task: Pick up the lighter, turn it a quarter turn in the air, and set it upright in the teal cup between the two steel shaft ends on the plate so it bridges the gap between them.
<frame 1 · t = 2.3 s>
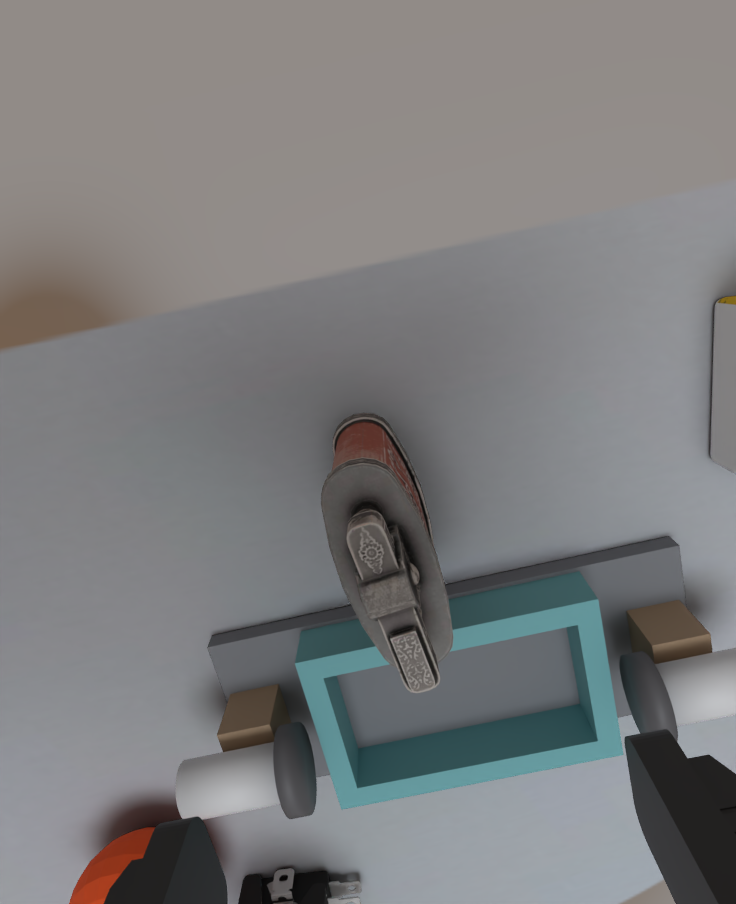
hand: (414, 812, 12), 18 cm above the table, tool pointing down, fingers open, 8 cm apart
lighter: (384, 494, 29), on the table
shaft cradle: (452, 662, 31), on the table
clementine: (156, 843, 35), on the table
push button: (302, 882, 35), on the table
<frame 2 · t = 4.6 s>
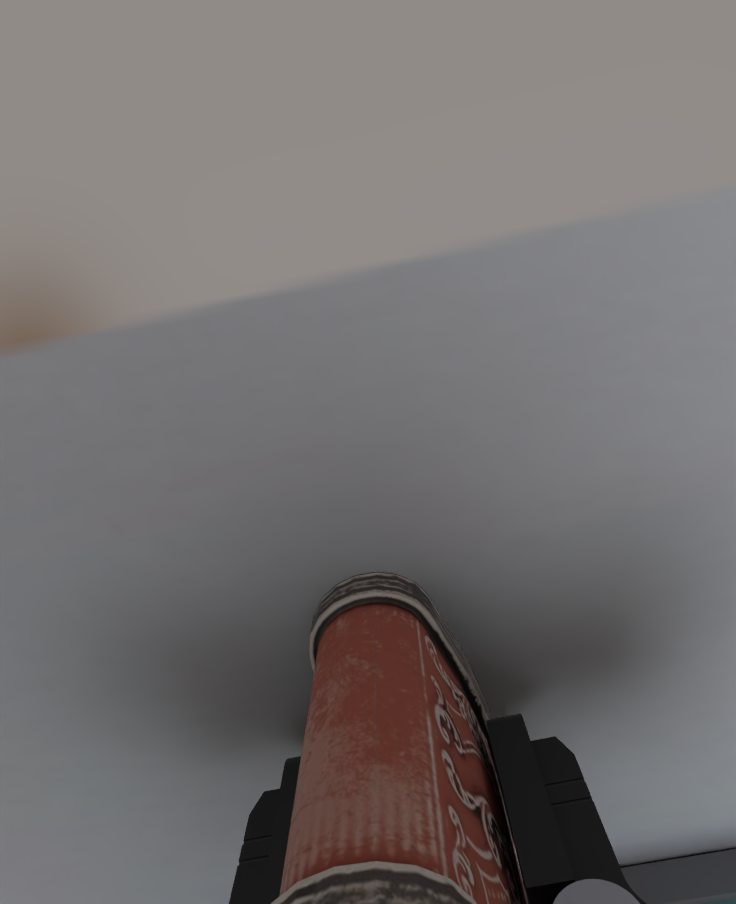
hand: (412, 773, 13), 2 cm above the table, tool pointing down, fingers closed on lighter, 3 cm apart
lighter: (415, 723, 15), on the table, touching gripper
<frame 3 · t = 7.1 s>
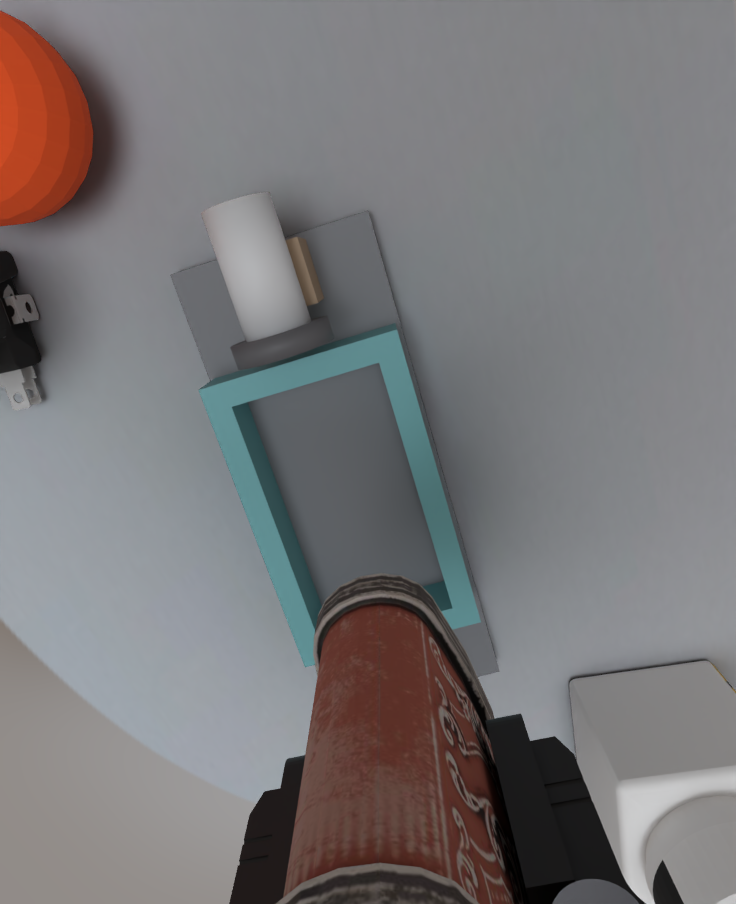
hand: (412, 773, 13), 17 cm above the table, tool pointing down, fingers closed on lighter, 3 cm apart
medicine bottle: (640, 722, 33), on the table
lighter: (419, 723, 15), point 16 cm above the table, touching gripper
shaft cradle: (350, 483, 29), on the table
clementine: (37, 125, 26), on the table
push button: (13, 328, 28), on the table
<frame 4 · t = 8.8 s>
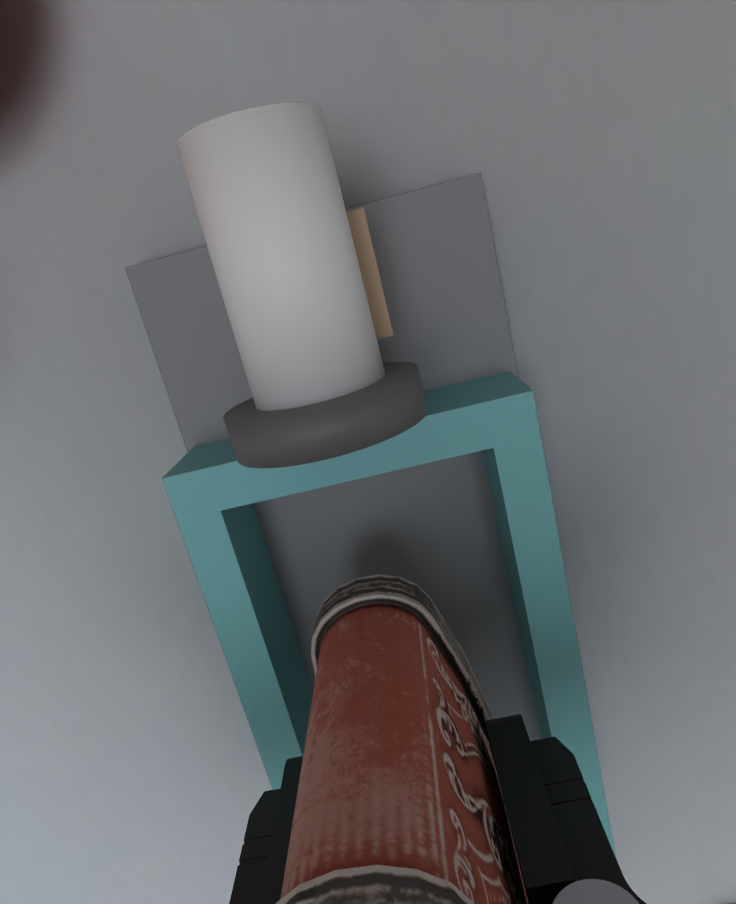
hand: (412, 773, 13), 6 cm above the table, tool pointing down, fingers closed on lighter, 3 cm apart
lighter: (417, 724, 15), point 4 cm above the table, touching gripper
shaft cradle: (405, 615, 18), on the table
when the fingers open (4 cm above the table, at t = 9.8 s): lighter drops 1 cm, resting on shaft cradle.
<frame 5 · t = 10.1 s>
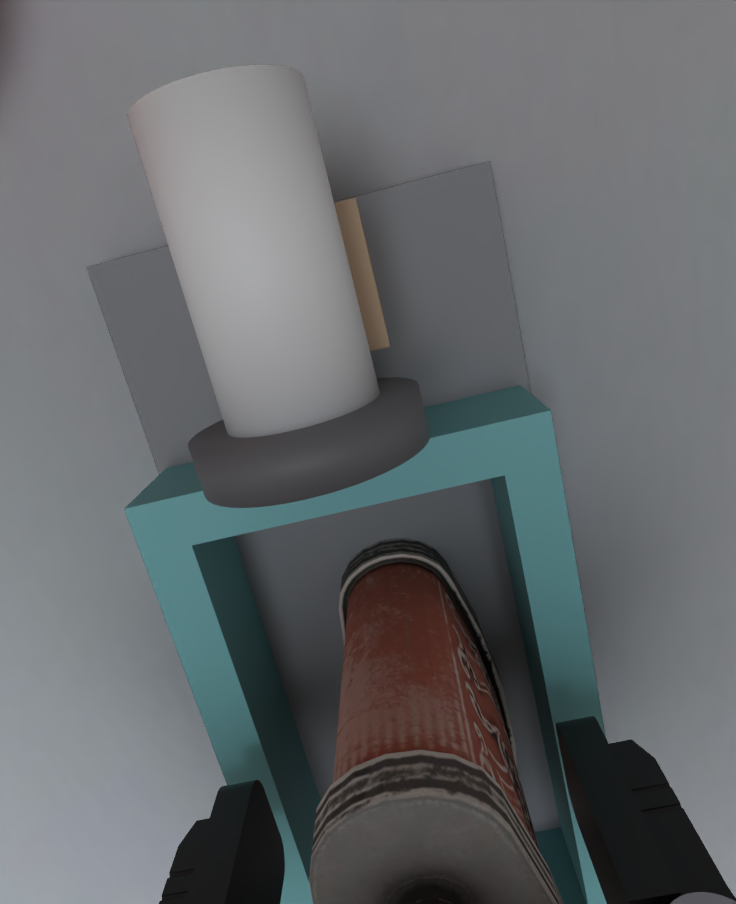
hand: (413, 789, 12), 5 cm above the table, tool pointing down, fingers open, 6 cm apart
lighter: (429, 678, 16), point 1 cm above the table, touching shaft cradle
shaft cradle: (403, 652, 17), on the table
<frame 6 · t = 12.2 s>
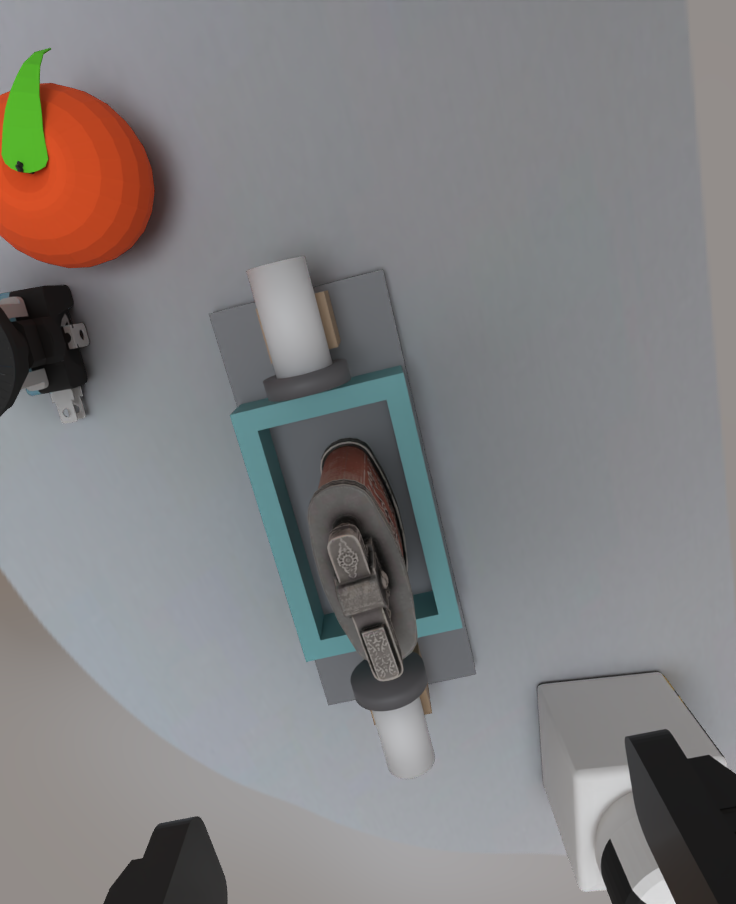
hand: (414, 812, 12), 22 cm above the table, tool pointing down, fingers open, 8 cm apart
medicine bottle: (598, 726, 37), on the table
lighter: (365, 510, 33), point 1 cm above the table, touching shaft cradle
shaft cradle: (353, 501, 33), on the table
clementine: (101, 179, 30), on the table
push button: (64, 350, 32), on the table
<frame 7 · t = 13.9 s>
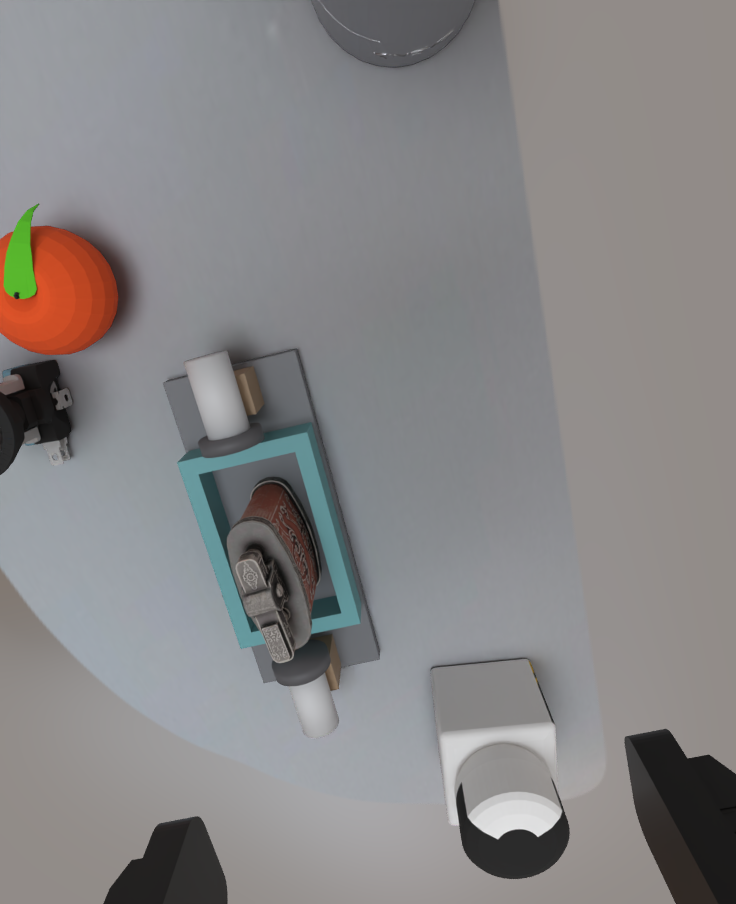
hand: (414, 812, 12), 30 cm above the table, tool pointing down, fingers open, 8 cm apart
medicine bottle: (482, 701, 47), on the table
lighter: (288, 531, 42), point 1 cm above the table, touching shaft cradle
shaft cradle: (280, 524, 43), on the table
clementine: (80, 280, 39), on the table
push button: (53, 408, 41), on the table
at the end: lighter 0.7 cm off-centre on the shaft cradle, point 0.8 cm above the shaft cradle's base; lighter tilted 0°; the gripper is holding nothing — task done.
